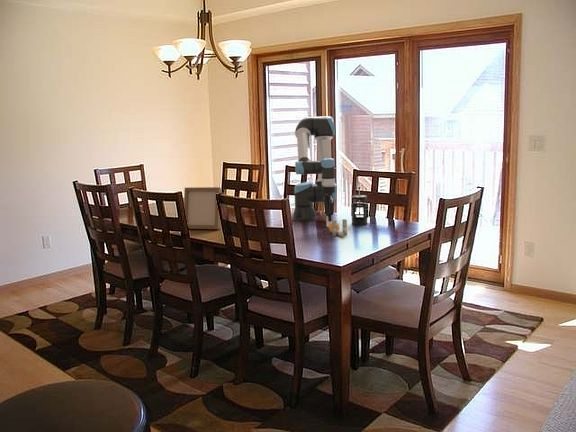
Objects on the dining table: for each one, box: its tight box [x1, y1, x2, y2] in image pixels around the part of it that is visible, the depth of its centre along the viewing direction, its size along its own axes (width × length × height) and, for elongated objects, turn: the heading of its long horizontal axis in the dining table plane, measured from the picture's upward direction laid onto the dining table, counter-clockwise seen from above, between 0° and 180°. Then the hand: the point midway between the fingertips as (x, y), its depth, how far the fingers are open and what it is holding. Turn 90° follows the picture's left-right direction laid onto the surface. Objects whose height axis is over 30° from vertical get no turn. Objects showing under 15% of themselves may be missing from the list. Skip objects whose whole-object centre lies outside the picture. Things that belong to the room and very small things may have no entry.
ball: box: [328, 222, 340, 233], centre depth 311 cm, size 6×6×6 cm
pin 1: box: [331, 219, 338, 237], centre depth 303 cm, size 2×2×8 cm
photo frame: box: [183, 186, 222, 230], centre depth 335 cm, size 15×22×25 cm
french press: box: [351, 185, 369, 226], centre depth 331 cm, size 12×9×23 cm
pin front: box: [337, 230, 346, 238], centre depth 302 cm, size 2×2×8 cm
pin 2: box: [341, 218, 348, 236], centre depth 304 cm, size 2×2×8 cm
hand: (329, 226), depth 319 cm, fingers closed
